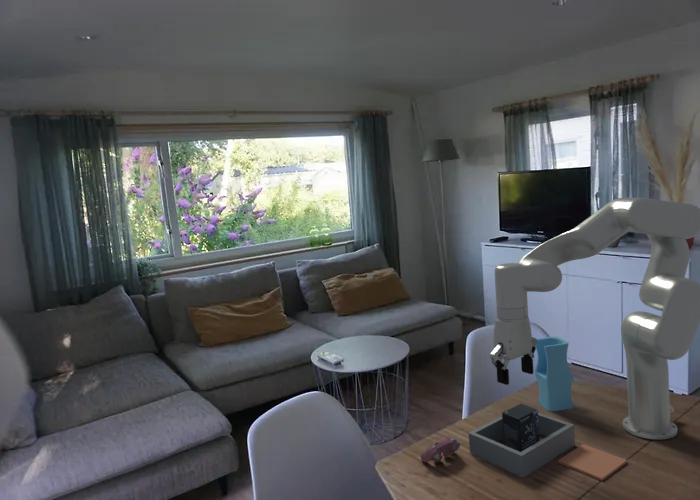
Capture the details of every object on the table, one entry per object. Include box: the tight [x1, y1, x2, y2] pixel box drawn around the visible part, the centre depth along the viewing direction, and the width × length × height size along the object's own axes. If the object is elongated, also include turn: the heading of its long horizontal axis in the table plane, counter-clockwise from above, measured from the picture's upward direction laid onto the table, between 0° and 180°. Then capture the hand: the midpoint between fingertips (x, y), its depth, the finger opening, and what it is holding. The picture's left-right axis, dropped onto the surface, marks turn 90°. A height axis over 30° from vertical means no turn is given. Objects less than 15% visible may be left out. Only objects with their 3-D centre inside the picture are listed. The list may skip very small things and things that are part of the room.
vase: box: [534, 336, 575, 412], centre depth 154 cm, size 8×8×20 cm
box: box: [501, 403, 541, 452], centre depth 132 cm, size 8×6×11 cm
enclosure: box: [468, 412, 576, 479], centre depth 132 cm, size 21×16×6 cm
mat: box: [557, 443, 628, 481], centre depth 123 cm, size 11×11×1 cm
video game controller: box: [420, 436, 461, 463], centre depth 131 cm, size 10×5×7 cm, turn 117°
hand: (515, 377), depth 130 cm, fingers open, 9 cm apart
